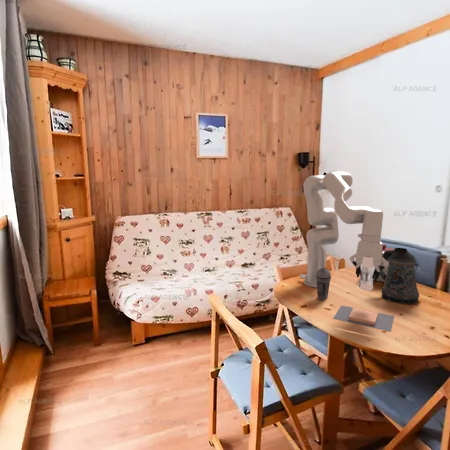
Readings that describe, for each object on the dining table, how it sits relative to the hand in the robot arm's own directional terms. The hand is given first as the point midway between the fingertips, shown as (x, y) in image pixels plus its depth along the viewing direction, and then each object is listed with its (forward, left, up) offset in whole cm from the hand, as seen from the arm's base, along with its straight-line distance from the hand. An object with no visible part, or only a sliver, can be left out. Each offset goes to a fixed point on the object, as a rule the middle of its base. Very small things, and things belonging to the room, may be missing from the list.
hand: (367, 277), depth 141 cm
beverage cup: (-20, +6, -16) cm, 27 cm away
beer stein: (+11, +25, -16) cm, 32 cm away
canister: (+1, +52, -16) cm, 54 cm away
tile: (+1, -3, -15) cm, 15 cm away
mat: (+1, -7, -16) cm, 18 cm away
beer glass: (0, 0, -5) cm, 5 cm away
